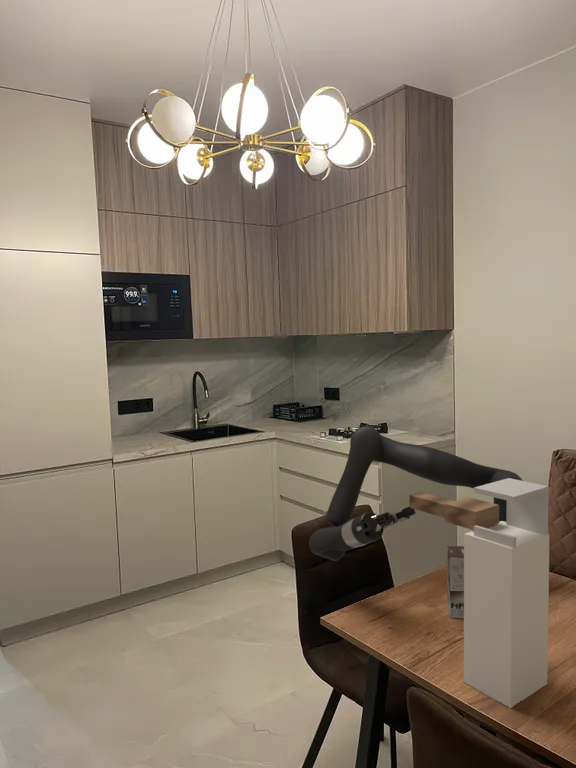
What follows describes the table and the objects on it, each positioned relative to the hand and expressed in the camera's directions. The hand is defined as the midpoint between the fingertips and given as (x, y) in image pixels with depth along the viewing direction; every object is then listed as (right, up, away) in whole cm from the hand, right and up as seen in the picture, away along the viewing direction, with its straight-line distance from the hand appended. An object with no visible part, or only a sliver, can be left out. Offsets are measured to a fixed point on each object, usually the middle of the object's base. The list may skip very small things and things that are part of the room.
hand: (401, 512), depth 143 cm
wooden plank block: (+8, +2, -12) cm, 15 cm away
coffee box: (+18, -29, +11) cm, 36 cm away
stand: (+18, -31, -21) cm, 41 cm away
